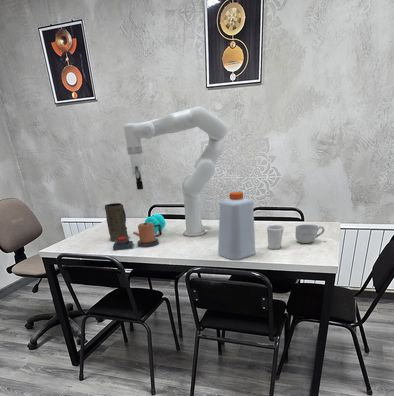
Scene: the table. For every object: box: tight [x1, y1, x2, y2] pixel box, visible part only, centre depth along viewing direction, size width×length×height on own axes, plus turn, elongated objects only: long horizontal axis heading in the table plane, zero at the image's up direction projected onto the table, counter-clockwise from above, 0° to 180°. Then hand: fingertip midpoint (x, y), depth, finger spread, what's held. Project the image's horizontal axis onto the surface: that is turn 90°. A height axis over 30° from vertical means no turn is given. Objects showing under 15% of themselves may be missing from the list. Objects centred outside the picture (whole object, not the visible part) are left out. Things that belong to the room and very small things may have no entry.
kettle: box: [132, 222, 163, 243], centre depth 187 cm, size 17×8×10 cm, turn 126°
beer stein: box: [104, 202, 129, 242], centre depth 201 cm, size 15×11×20 cm
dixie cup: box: [266, 224, 285, 250], centre depth 169 cm, size 8×8×10 cm
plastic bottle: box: [217, 191, 256, 261], centre depth 159 cm, size 15×15×28 cm
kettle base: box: [137, 237, 160, 248], centre depth 190 cm, size 12×12×2 cm
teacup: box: [295, 223, 325, 244], centre depth 174 cm, size 14×11×8 cm
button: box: [118, 237, 126, 242], centre depth 186 cm, size 4×4×2 cm
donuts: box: [144, 213, 166, 234], centre depth 210 cm, size 10×10×10 cm
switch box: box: [112, 238, 134, 251], centre depth 187 cm, size 10×8×4 cm
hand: (140, 189), depth 186 cm, fingers closed
